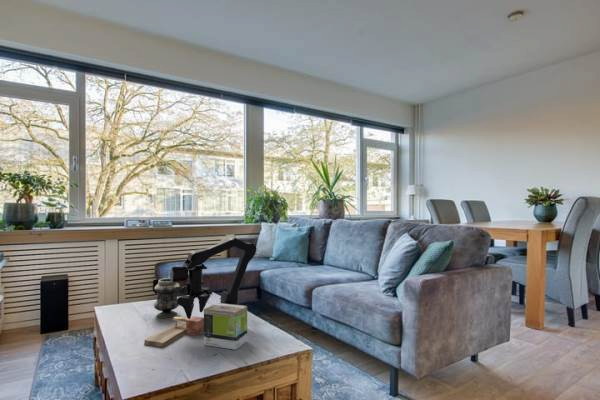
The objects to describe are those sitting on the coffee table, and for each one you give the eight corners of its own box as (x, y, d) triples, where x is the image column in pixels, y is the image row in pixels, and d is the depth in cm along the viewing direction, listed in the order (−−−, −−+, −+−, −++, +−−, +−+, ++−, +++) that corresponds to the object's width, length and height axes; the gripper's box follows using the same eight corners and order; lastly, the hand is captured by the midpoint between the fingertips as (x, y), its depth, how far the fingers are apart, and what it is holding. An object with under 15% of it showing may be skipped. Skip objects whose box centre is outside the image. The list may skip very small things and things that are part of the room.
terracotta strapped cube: (204, 331, 149) (204, 317, 149) (198, 335, 144) (198, 321, 144) (177, 327, 153) (177, 314, 153) (170, 331, 148) (170, 318, 148)
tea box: (248, 340, 139) (248, 305, 139) (235, 351, 130) (235, 312, 130) (216, 336, 144) (216, 301, 144) (202, 345, 134) (202, 308, 135)
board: (194, 328, 152) (194, 324, 152) (163, 347, 132) (163, 342, 132) (177, 326, 155) (177, 322, 155) (144, 344, 135) (144, 339, 135)
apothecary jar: (184, 314, 171) (184, 278, 172) (163, 321, 161) (164, 283, 161) (169, 309, 178) (169, 276, 178) (148, 316, 168) (149, 280, 168)
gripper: (192, 274, 159) (191, 307, 159) (165, 283, 141) (165, 320, 141) (212, 276, 156) (212, 309, 156) (188, 285, 138) (188, 323, 138)
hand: (195, 315), depth 148 cm, fingers open, 9 cm apart
